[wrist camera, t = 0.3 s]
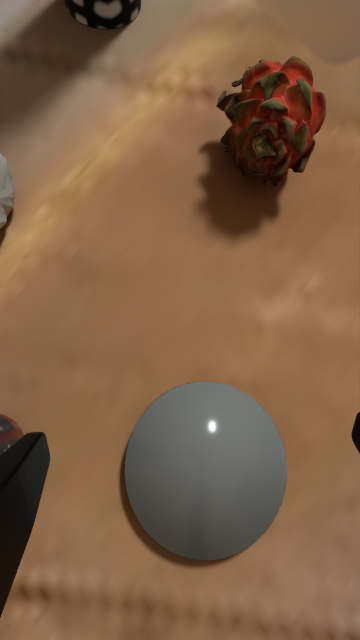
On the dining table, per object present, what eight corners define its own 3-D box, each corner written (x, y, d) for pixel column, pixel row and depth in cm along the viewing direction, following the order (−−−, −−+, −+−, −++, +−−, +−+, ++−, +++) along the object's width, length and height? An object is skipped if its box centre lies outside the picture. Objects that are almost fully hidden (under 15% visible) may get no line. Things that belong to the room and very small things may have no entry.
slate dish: (309, 496, 22) (316, 502, 21) (169, 587, 20) (170, 598, 19) (234, 356, 23) (237, 355, 22) (100, 426, 21) (97, 428, 20)
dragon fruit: (246, 221, 28) (237, 138, 33) (342, 185, 24) (317, 95, 28) (209, 156, 21) (204, 62, 26) (333, 90, 17) (302, -8, 22)
